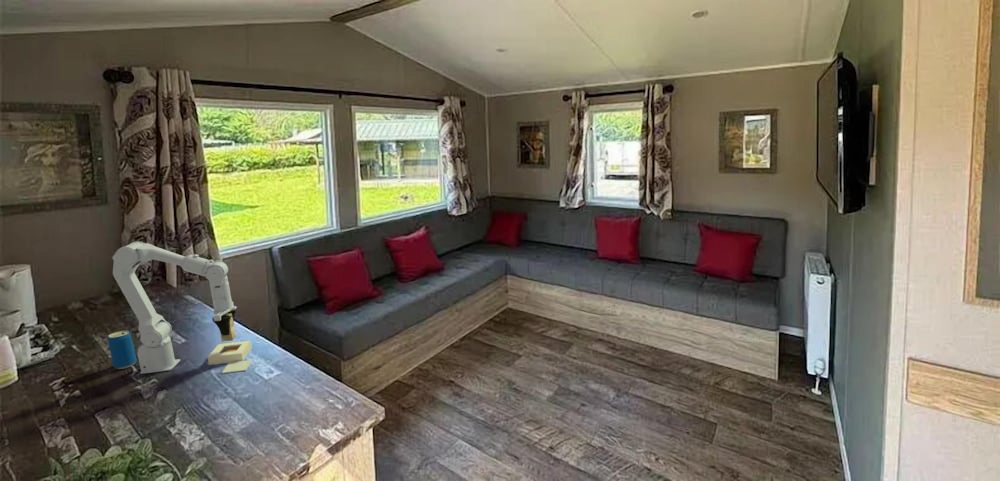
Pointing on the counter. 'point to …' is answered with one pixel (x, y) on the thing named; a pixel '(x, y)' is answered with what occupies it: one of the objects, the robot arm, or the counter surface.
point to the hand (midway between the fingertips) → (227, 332)
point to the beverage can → (122, 349)
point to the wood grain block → (232, 330)
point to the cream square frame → (228, 357)
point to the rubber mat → (237, 366)
